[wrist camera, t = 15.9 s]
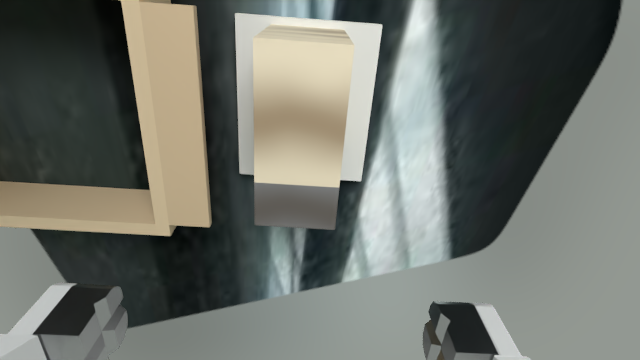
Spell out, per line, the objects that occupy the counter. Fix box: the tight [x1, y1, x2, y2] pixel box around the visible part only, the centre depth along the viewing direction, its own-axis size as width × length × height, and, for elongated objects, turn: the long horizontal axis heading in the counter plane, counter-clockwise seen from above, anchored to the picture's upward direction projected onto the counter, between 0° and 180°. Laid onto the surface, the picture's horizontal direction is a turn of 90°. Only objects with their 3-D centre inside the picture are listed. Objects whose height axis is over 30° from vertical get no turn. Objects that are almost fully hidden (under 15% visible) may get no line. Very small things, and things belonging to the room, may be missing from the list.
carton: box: [0, 0, 212, 236], centre depth 26 cm, size 17×23×5 cm
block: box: [253, 24, 355, 230], centre depth 24 cm, size 11×5×8 cm, turn 176°
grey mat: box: [235, 13, 382, 181], centre depth 28 cm, size 12×10×1 cm
